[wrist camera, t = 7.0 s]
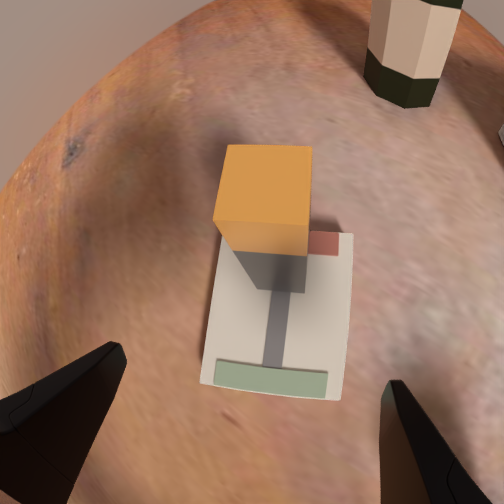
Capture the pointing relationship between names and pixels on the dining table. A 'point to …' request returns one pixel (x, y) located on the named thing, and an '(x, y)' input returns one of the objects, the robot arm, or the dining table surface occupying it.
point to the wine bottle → (409, 48)
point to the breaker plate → (282, 326)
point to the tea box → (501, 134)
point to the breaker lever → (267, 212)
